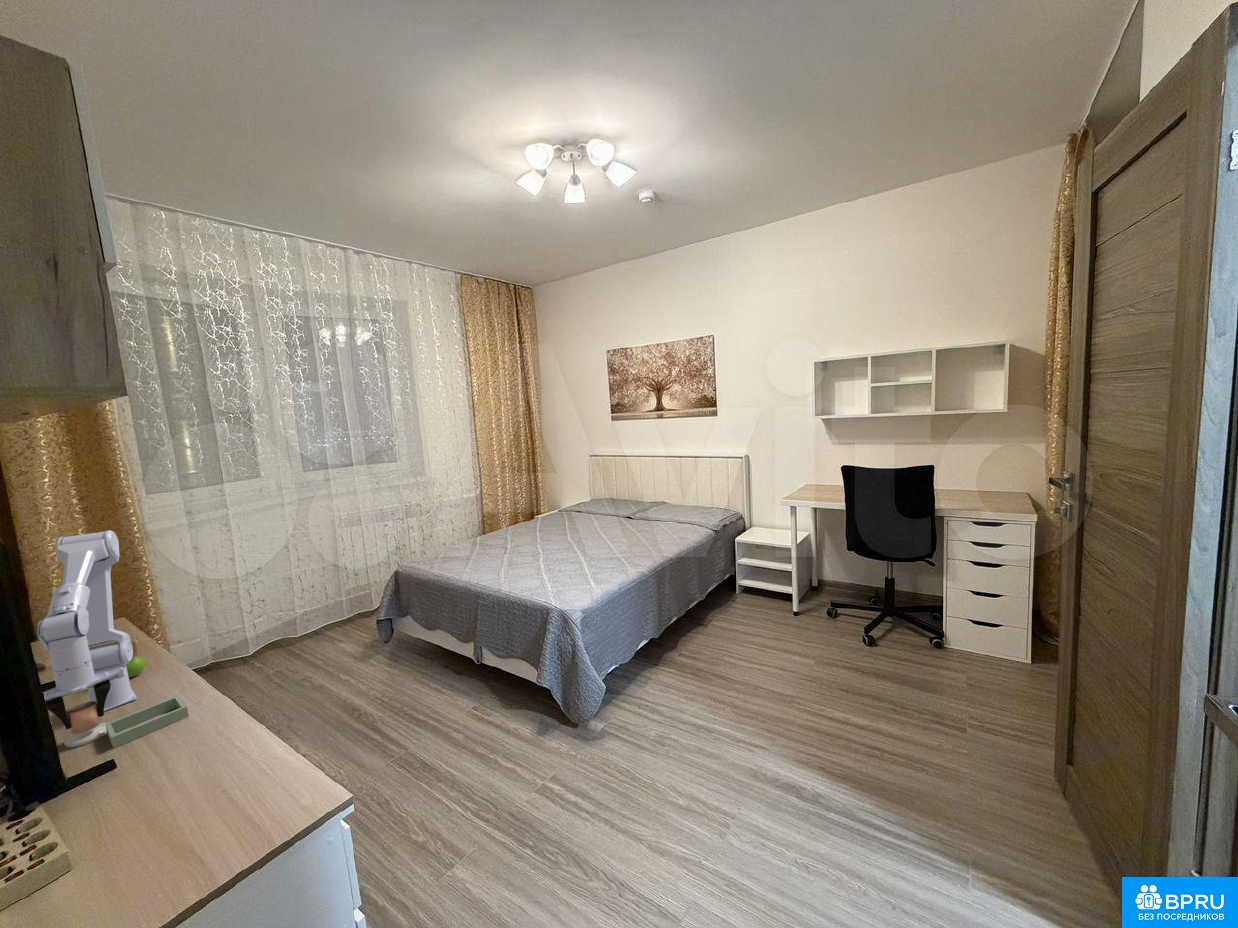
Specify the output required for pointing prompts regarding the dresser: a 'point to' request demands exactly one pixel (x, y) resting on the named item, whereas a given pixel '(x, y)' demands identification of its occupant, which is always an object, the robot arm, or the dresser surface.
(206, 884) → the dresser surface
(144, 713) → the box
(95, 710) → the terracotta pot
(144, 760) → the dresser surface
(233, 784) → the dresser surface
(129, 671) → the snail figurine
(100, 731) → the pale grey saucer
